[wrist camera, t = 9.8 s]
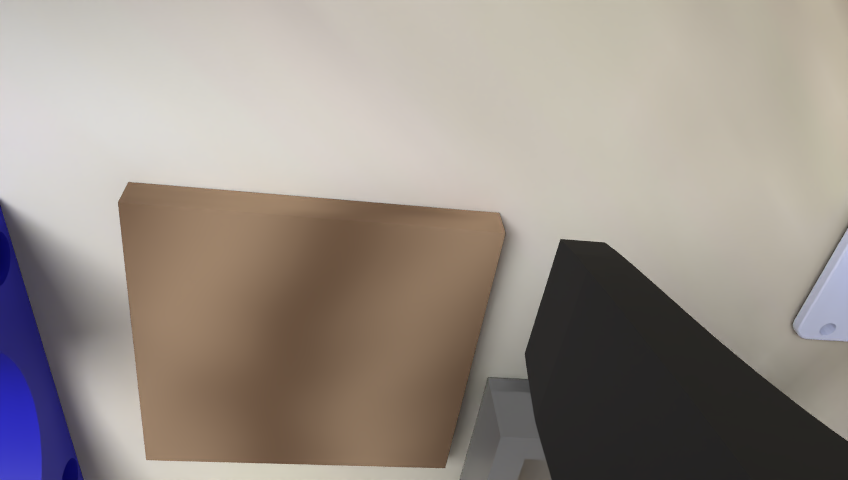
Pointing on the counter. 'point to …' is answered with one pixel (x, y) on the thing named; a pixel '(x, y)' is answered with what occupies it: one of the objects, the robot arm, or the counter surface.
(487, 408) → the parts tray
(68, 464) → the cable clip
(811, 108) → the counter surface
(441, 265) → the brown square tile
